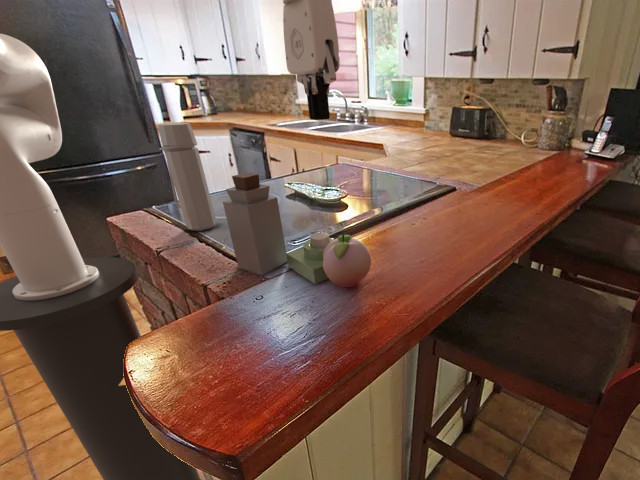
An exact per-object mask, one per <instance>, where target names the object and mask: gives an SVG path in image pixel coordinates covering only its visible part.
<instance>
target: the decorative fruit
mask: <svg viewBox="0 0 640 480" xmlns="http://www.w3.org/2000/svg"><path fill="white" fill-rule="evenodd" d="M334 239H335V240H333V241H331V242H330V243H329V244H328V245H327V246H326V248H325V250H324V253H323V269H324V271H325V273H326V275H327V277H328V278H329V279H328V280H330V281H331V282H332V283H334V284H335V285H337V286H339V287H342V288H350V287H353V286H355V285H357V284H359V283H360V282H361V281H362V280H364V278H366V276H367V275H368V273H369V272H370V270H371V266H372V257H371V254H370V250H369V249H368V247H367V246H366V245H365V244H364V242H362V241H360V240H359V239H356V238H353V237H352V236H351V235H350V234H344V233H342V234H341V235H338V237H337V238H334Z"/></svg>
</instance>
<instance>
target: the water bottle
mask: <svg viewBox="0 0 640 480" xmlns="http://www.w3.org/2000/svg"><path fill="white" fill-rule="evenodd" d="M157 127H158V131H159V137H160V141H161V147H160V148H158V150H159V151H163V153H164V155H165V156H164V157H165V159H166V165H167V169H168V174H169V179H170V184H171V191H172V195H173V199H174V202H175V204H176V206H177V208H178V209H179V210H181V213H182V216H183V221H184V223H185V228H186V229H188V230H189V231H193V232H202V231H207V230H210V229H212V228H214V227H215V226H216V225H217V223H218V221H217V218H216V214H215V210H214V207H213V203H212V198H211V194H210V190H209V187H208V183H207V179H206V175H205V171H204V166H203V163H202V159H201V155H200V151H199V148H198V147H196V146H198V142H197V139H196V137H195V134H194V131H193V128H192V125H191V123H190V122H169V123H168V122H167V123H159V124H157Z"/></svg>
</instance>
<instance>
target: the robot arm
mask: <svg viewBox="0 0 640 480" xmlns="http://www.w3.org/2000/svg"><path fill="white" fill-rule="evenodd" d="M282 2H283V12H282V17H283V18H282V25H283V27H282V28H283V42H284V43H283V44H284V53H285V61H286V62H285V63H286V69H287V71H288V73H289V74H291V75H296V81H297V82H298V83H299V84H301V85H303V89H304V94H305V95H306V99H307V108H308V118H309V119H310V120H312V121H313V120H314V121H321V120H329V119H330V118H331V116H330V105H329V94H330V85H331V84H332V83H334V82H336V81H337V74H336V73H337V72H338V71H339V70H340V65H341V62H340V60H341V59H340V58H341V57H340V45H339V37H338V28H337V22H336V17H335V11H334V6H333V1H332V0H282ZM61 126H62V125H61V122H60V117H59V112H58V107H57V103H56V97H55V93H54V89H53V84H52V80H51V76H50V74H49V71H48V69H47V67H46V65H45V63H44V62H43V60H42V59H41V57H40V56H39V55H38V53H36V51H34V49H32V48H31V47H30V46H29V45H27V44H26V43H24V42H23V41H22V40H20V39H17V38H16V37H14V36H10V35H9V34H8V35H7V34H5V33H0V248H1V250H2V252H3V254H4V255H5V257H6V259H7V261H8V263H9V264H10V267H11V268H12V270H13V272H14V273H15V276H17V277H18V279H19V281H20V283H19V284H18V285H16V286H15V287H14V288H13V291H12V292H13V294H14V296H15V297H16V298H17V299H19V300H24V301H35V300H43V299H49V298H54V297H58V296H62V295H65V294H68V293H71V292H74V291H77V290H79V289H81V288H83V287H86V286H87V285H89V284H91V283H92V282H94V281H95V280H96V279H97V278H98V276H99V271H98V269H97V268H96V267H93V266H89V265H85V264H84V262H83V259H84V258H83V257H82V255H81V253H80V250H79V248H78V245H77V244H76V241H75V240H74V238H73V235H72V232H71V231H70V228H69V226H68V224H67V222H66V219H65V216H64V215H63V212H62V211H61V209H60V206H59V204H58V202H57V200H56V198H55V196H54V194H53V192H52V189H51V187H50V186H49V185H48V183H47V182H46V181H45V180H44V179H43V177H42V176H41V175H40V174H38V173H37V171H36V170H35V169H34V168H33V167H32V166H31V165H30V164H31V163H36V162H39V161H44V160H47V159H49V158H51V157H54V156H55V155H57V153H58V152H59V151H60V149H61V147H62V145H63V144H62V143H63V132H62V127H61Z"/></svg>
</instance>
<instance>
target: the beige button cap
mask: <svg viewBox="0 0 640 480" xmlns="http://www.w3.org/2000/svg"><path fill="white" fill-rule="evenodd" d="M330 238H331V237H330V234H329V233H328V232H316V233H313V234H310V236H309V240H311V247H312V248H325V247H326V246H327V245H328V244H329V243H330Z"/></svg>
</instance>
